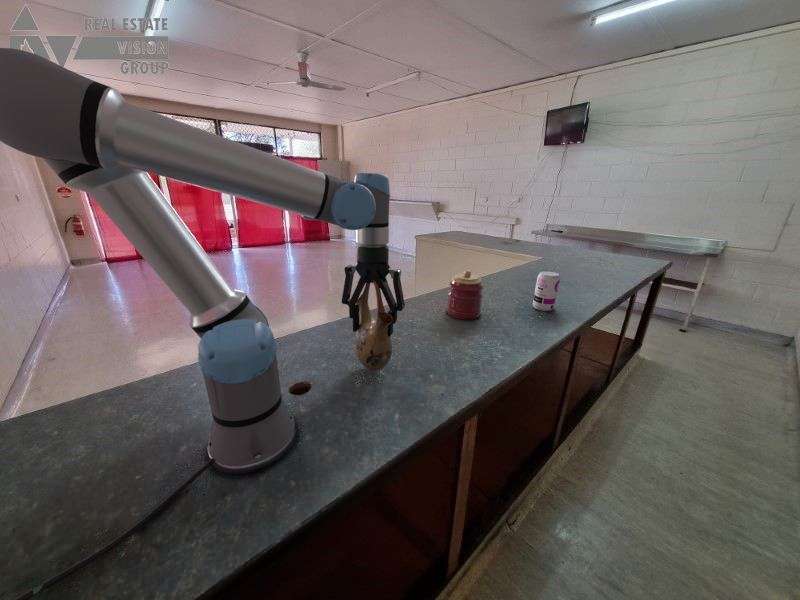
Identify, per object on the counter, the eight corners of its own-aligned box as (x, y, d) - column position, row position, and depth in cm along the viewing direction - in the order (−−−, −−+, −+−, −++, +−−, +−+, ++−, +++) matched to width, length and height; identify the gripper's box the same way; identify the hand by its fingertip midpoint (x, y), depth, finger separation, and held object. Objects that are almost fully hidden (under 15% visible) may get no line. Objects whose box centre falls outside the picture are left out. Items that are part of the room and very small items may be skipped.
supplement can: (554, 306, 134) (561, 272, 129) (551, 313, 127) (559, 277, 122) (534, 302, 138) (540, 269, 133) (530, 308, 132) (536, 273, 126)
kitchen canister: (487, 315, 123) (492, 272, 117) (463, 323, 116) (468, 277, 110) (463, 305, 133) (467, 264, 127) (439, 311, 126) (443, 268, 120)
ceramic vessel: (403, 376, 81) (407, 283, 72) (372, 387, 76) (372, 289, 68) (373, 349, 94) (373, 267, 85) (345, 356, 89) (342, 271, 80)
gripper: (420, 244, 75) (416, 331, 82) (337, 238, 79) (340, 320, 87) (413, 250, 68) (410, 344, 76) (323, 243, 72) (328, 332, 80)
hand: (373, 331), depth 81 cm, fingers closed on ceramic vessel, 8 cm apart
